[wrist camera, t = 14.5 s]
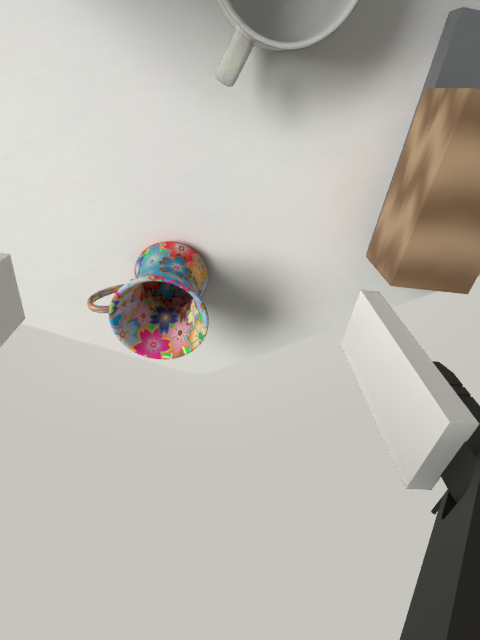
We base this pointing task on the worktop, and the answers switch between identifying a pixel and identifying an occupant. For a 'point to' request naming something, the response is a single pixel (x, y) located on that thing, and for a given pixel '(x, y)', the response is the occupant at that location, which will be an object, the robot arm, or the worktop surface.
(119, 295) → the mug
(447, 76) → the mount rail
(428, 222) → the brown wooden block
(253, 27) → the teacup
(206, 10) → the worktop surface
